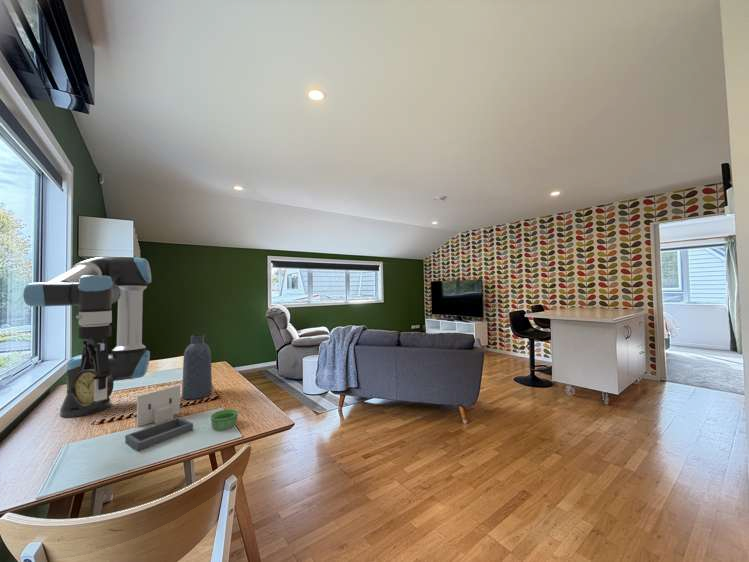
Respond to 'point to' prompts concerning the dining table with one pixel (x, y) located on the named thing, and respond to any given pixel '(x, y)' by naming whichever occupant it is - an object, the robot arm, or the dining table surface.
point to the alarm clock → (88, 388)
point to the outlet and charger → (158, 405)
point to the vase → (197, 369)
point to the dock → (158, 433)
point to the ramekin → (224, 419)
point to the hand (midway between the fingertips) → (94, 396)
